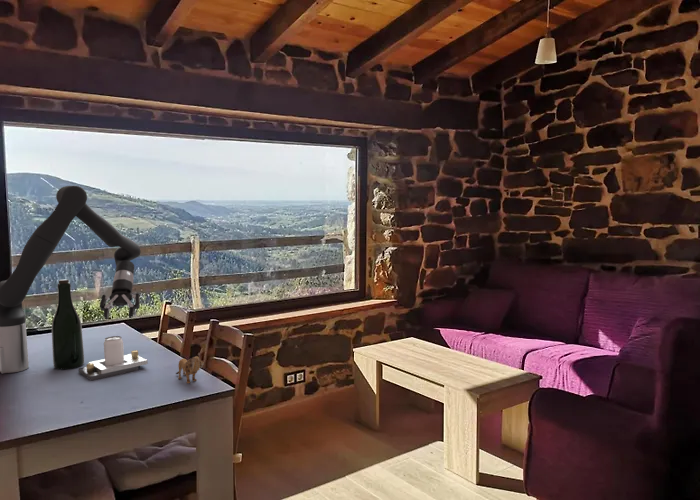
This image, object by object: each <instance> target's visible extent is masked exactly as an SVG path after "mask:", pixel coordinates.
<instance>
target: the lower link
mask: <svg viewBox="0 0 700 500" xmlns="http://www.w3.org/2000/svg"><path fill="white" fill-rule="evenodd" d="M104 366H105V365H104ZM136 371H139V366H136V367H132V368H127V369H123V370H118V371H113V372H109V373H104V374H100V373H99V372H97V371H96V370H94V363H89V362H88V363H87V364H86V366H85V367H78V373H79V374H80V375H82V376H83V377H85V378H87V379H88V380H89V381H96V380H101V379H104V378H108V377H109V378H110V377H113V376H117V375H123V374H126V373H132V372H136Z"/></svg>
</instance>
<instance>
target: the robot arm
mask: <svg viewBox="0 0 700 500" xmlns="http://www.w3.org/2000/svg"><path fill="white" fill-rule="evenodd" d="M55 198H56V200H57V201H56V202H57V205H56V206H55V208H54V210H53V211H52V212H51V214H50V215H49V216H48V217H47V218H46V219H45V220H44V221H42V223H41V224H39V226H38V227H37V228H36V229H35V230H34V231H33V232H32V234H31V236H30V238H28V239H27V242H26V243H25V245H24V247H23V249H22V251H21V255H20V257H19V261H18V263H17V265H16V267H15V269H14V270H13V271H12V273H11V274H10V276H9V277H8V278H7V279H6V280H2V281H0V373H1V374H2V375H3V374H12V373H17V372H22V371H25V370H27V369H29V368H30V366H29V365H30V364H29V363H30V361H29V351H28V350H29V349H28V339H27V338H28V337H27V325H26V324H27V323H26V322H27V321H26V315H25V312H24V309H23V302H24V301H25V299H26V298H27V294H28V292H29V291H30V289H31V286H32V285H33V282H34V281H35V278H36V277H37V276H38V274H39V273H40V272H41V270H42V268H43V267H45V264H47V261H48V260H49V259H50V257H51V255H52V254H53V252H54V251H55V249H56V248H57V246H58V245H59V243H60V241H61V240H62V238H63V237H64V235H65V233H66V232H67V229H68V227H69V226H70V224H71V223H72V222H73V220H74V219H75V218H77V219H79V220H80V221H81V222H83V224H85V225H86V226H87V227H88V228H89V229H90V230H91V231H92V232H93V233H95V234H94V235H96V236H97V237H98V238H99V239H100V240H101V241H102V242H104V243H105V244H106V245H107V246H108V247H110V248H114V247H115V248H116V247H117V248H116V249H115V251H114V253H113V257H114V264H115V267H116V268H115V273H114V277H113V281H112V289H111V294H110V295H105V294H103V295H101V300H100V303H99V308H100V310H101V312H103V318H104V319H105V320H108V319H109V315H110V311H111V309H114V308H115V307H120V306H122V307H125V306H127V307H128V308H129V309H128V317H129V319H132V318H133V317H134V315H135V314H134V313H135V310H138V309H140V307H141V306H140V302H141V297H140V296H141V295H140V293H139V292H136V293H135V294H133V287H134V275H135V274H134V273H135V264H134V263H133V262H132V260H135V259H136V258H139V256H140V255H141V253H142V252H141V248H140V246H139V245H138V244H137V243H136V242H135V241H134V240H132V239H130V238H129V237H126V236H125V235H124V234H122V233H120V232H119V230H118V229H116V227H114V225H113V224H112V223H110V222H109V221H108V220H107V219H105V218H104V217H103V216H101V215H100V214H98V213H97V212H96V211H95V210H93V209H92V208H91V206H89V205H88V203H87V201H88V194H87V191H86V190H85V189H84V188H83V187H81V186H80V185H66V186H63V187H60V188H59V189H58V190H57V192H56V195H55ZM132 300H134V302H135V303H134V304H133V303H132ZM107 302H108V303H107Z"/></svg>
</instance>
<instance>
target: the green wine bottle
mask: <svg viewBox="0 0 700 500" xmlns="http://www.w3.org/2000/svg"><path fill="white" fill-rule="evenodd" d="M71 287H72V286H71V282H70V280H69V279H64V278H63V279H59V280H58V283H57V293H58V294H57V297H58V298H57V307H56V310H55V313H54V315H53V319H52V322H51V344H52V345H51V346H52V348H51V349H52V363H53V367H54V368H55V369H56V370H70V369H71V370H72V369H75V368H80V367H81V366H82V365H84V364H85V354H84V352H85V349H84V341H83V340H84V338H83V327H82V322H81V319H80V317H79V314H78V311H77V310H76V309H75V305H74V304H73V303H74V302H73V297H72V290H71V289H72V288H71Z"/></svg>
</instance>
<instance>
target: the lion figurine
mask: <svg viewBox="0 0 700 500" xmlns="http://www.w3.org/2000/svg"><path fill="white" fill-rule="evenodd" d="M204 364H205V362H204V361H202V360H201V359H200V357H199V356H193V357H190V358H189V359H186V358H181V359H179V362H178V371H177V372H175V375H178V378H177V379H178V380H181V379H182V378H183V377H182V375H183V376H185V377H186V384H191V380H192V382H196V381H197V378H195V377H196V374H197V373H198V371H200V368H202V369H203V366H204ZM191 375H192V377H191V379H190V376H191Z"/></svg>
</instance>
